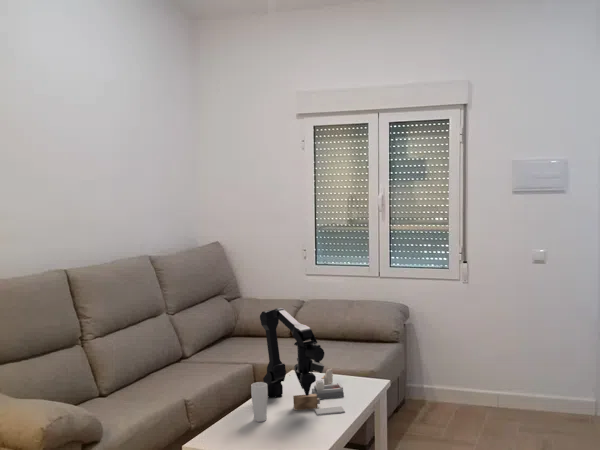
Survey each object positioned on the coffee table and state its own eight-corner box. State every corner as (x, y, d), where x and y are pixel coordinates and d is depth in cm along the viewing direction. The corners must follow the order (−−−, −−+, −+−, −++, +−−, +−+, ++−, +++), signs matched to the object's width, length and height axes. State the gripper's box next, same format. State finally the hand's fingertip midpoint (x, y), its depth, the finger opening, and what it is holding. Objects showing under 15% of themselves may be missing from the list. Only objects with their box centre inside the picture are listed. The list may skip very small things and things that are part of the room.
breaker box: (315, 399, 276) (315, 390, 276) (311, 392, 285) (311, 384, 285) (343, 396, 278) (343, 388, 278) (338, 390, 287) (338, 382, 287)
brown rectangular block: (294, 410, 263) (294, 398, 263) (293, 408, 266) (293, 395, 266) (320, 408, 265) (319, 395, 265) (318, 405, 268) (318, 393, 268)
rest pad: (317, 415, 256) (317, 413, 256) (314, 410, 262) (314, 408, 262) (345, 412, 259) (344, 411, 259) (341, 407, 264) (341, 406, 264)
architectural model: (321, 385, 297) (320, 370, 296) (327, 381, 303) (327, 366, 303) (327, 386, 295) (327, 371, 295) (333, 382, 301) (333, 367, 301)
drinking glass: (256, 424, 249) (254, 388, 248) (249, 419, 255) (248, 383, 254) (271, 420, 252) (270, 385, 251) (264, 415, 258) (263, 380, 257)
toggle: (317, 392, 279) (317, 383, 279) (316, 389, 283) (315, 380, 282) (324, 391, 279) (324, 382, 279) (322, 389, 283) (322, 380, 283)
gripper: (327, 361, 257) (328, 397, 258) (317, 349, 275) (318, 383, 276) (301, 363, 255) (302, 399, 256) (293, 351, 273) (294, 385, 274)
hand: (305, 392), depth 265 cm, fingers open, 9 cm apart
